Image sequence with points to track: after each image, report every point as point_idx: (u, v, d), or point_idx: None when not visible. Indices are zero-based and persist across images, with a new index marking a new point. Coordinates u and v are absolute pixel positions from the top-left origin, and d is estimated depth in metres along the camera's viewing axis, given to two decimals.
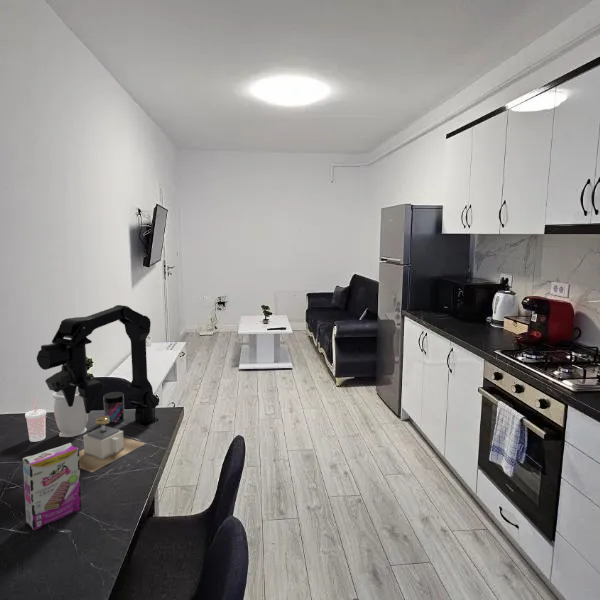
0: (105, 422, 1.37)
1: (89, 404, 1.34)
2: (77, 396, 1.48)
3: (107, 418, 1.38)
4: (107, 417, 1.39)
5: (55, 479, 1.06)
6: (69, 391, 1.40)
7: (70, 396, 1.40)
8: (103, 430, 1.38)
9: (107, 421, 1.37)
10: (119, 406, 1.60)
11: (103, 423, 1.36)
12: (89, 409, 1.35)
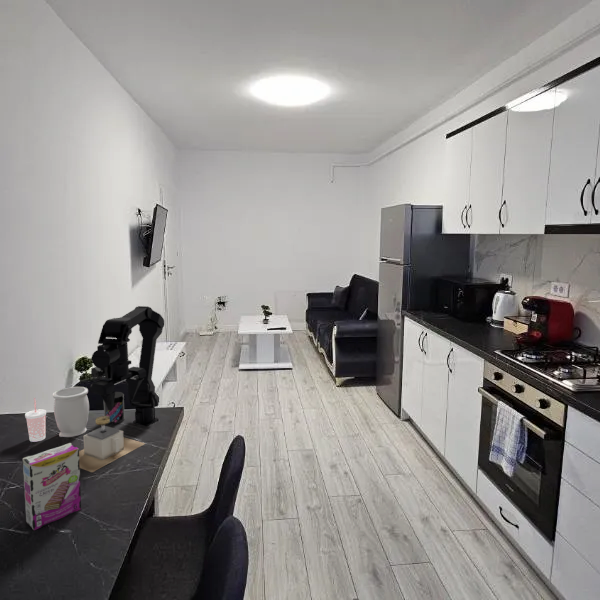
0: (105, 422, 1.37)
1: (107, 402, 1.40)
2: (77, 396, 1.48)
3: (107, 418, 1.38)
4: (107, 417, 1.39)
5: (55, 479, 1.06)
6: (131, 386, 1.49)
7: (131, 391, 1.49)
8: (103, 430, 1.38)
9: (107, 421, 1.37)
10: (119, 406, 1.60)
11: (103, 423, 1.36)
12: (109, 407, 1.40)
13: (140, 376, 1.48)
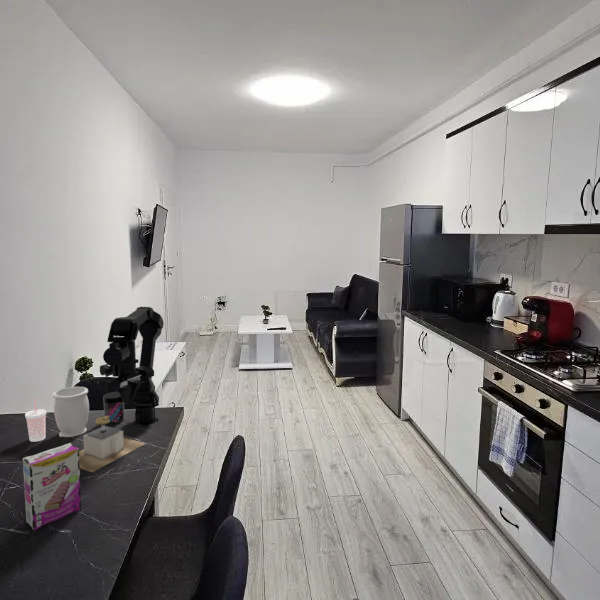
0: (105, 422, 1.37)
1: (123, 396, 1.45)
2: (77, 396, 1.48)
3: (107, 418, 1.38)
4: (107, 417, 1.39)
5: (55, 479, 1.06)
6: (130, 388, 1.47)
7: (130, 393, 1.47)
8: (103, 430, 1.38)
9: (107, 421, 1.37)
10: (119, 406, 1.60)
11: (103, 423, 1.36)
12: (125, 401, 1.45)
13: (148, 375, 1.49)
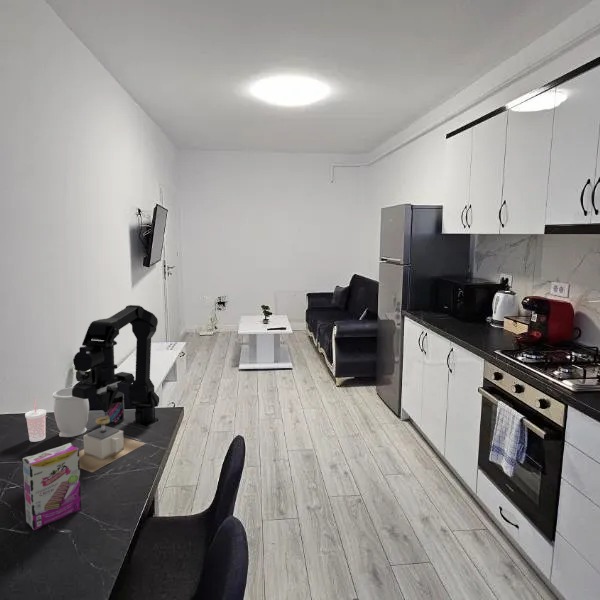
0: (105, 422, 1.37)
1: (102, 403, 1.37)
2: None
3: (107, 418, 1.38)
4: (107, 417, 1.39)
5: (55, 479, 1.06)
6: None
7: None
8: (103, 430, 1.38)
9: (107, 421, 1.37)
10: (119, 406, 1.60)
11: (103, 423, 1.36)
12: (104, 408, 1.37)
13: (127, 382, 1.41)
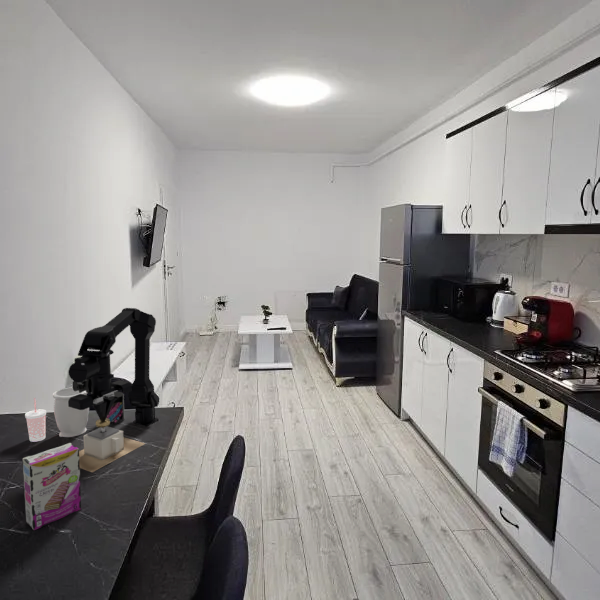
0: (105, 424, 1.37)
1: (99, 412, 1.37)
2: None
3: (107, 420, 1.38)
4: (107, 419, 1.39)
5: (55, 479, 1.06)
6: None
7: None
8: (103, 432, 1.38)
9: (107, 423, 1.37)
10: (119, 406, 1.60)
11: (103, 425, 1.36)
12: (101, 418, 1.37)
13: (124, 391, 1.41)
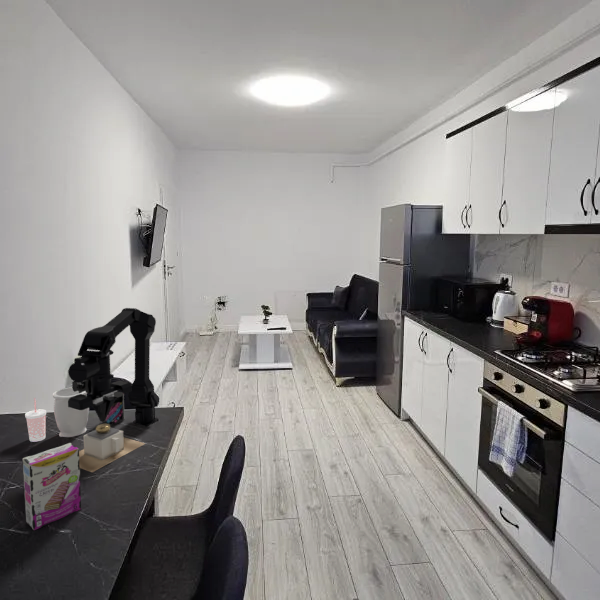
0: (106, 429, 1.37)
1: (99, 413, 1.36)
2: None
3: (107, 426, 1.38)
4: (107, 425, 1.39)
5: (55, 479, 1.06)
6: None
7: None
8: None
9: (107, 429, 1.37)
10: (119, 406, 1.60)
11: (103, 431, 1.37)
12: (100, 418, 1.37)
13: (124, 391, 1.41)
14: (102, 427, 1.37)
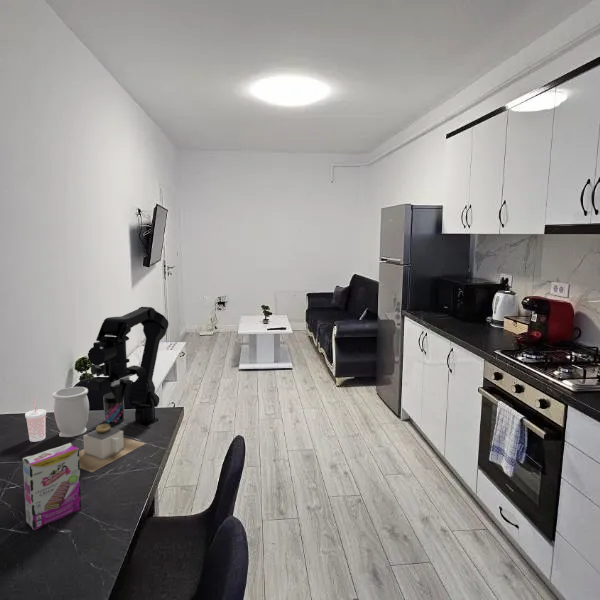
0: (106, 429, 1.37)
1: (115, 395, 1.45)
2: (77, 396, 1.48)
3: (107, 426, 1.38)
4: (107, 425, 1.39)
5: (55, 479, 1.06)
6: None
7: None
8: None
9: (107, 429, 1.37)
10: (119, 406, 1.60)
11: (103, 431, 1.37)
12: (117, 400, 1.46)
13: (139, 375, 1.50)
14: (102, 427, 1.37)
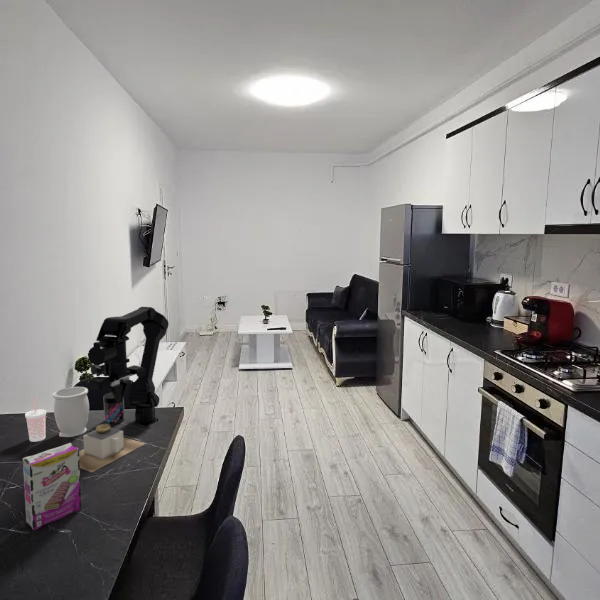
0: (106, 429, 1.37)
1: (115, 395, 1.45)
2: (77, 396, 1.48)
3: (107, 426, 1.38)
4: (107, 425, 1.39)
5: (55, 479, 1.06)
6: None
7: None
8: None
9: (107, 429, 1.37)
10: (119, 406, 1.60)
11: (103, 431, 1.37)
12: (117, 400, 1.46)
13: (139, 375, 1.50)
14: (102, 427, 1.37)
